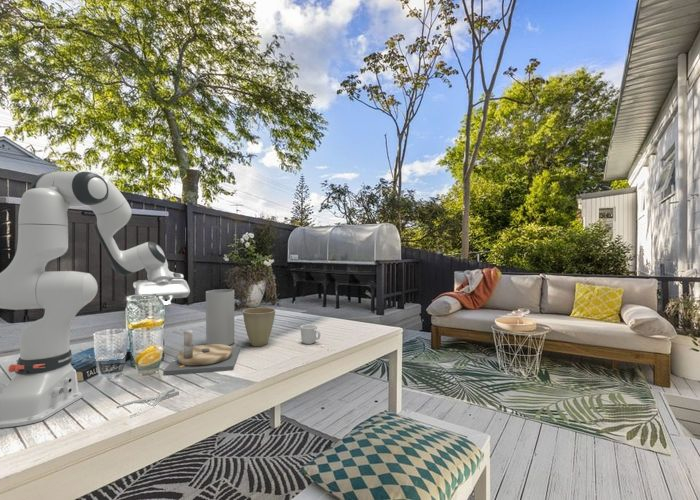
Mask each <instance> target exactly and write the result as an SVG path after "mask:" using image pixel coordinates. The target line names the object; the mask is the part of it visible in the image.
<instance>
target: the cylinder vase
mask: <svg viewBox="0 0 700 500" xmlns="http://www.w3.org/2000/svg"><path fill="white" fill-rule="evenodd" d="M205 341H206V342H205V343H206V344H205V345H207V344H223V345H228V346H231V345H233V344H234V343H235V290H234V289H229V288H228V289H227V288H224V289H221V288H220V289H211V290H206V291H205Z"/></svg>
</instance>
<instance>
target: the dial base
mask: <svg viewBox="0 0 700 500" xmlns="http://www.w3.org/2000/svg"><path fill="white" fill-rule="evenodd" d="M230 347H231V348H232V355H231V356H230V357H229V358H228V359H226V360H223V361H220V362H217V363H212V364H207V365H184V364H181V363H179V362H178V354H177V355H176V356H175V357H174V358H173V360H171V361H170V363H169V364H168V365H167V366H166V367H165V369H164V370H163V371H162V372H163V373H162V374H163V376H170V375H183V374H194V373H195V374H197V373H210V372H219V371H220V372H223V371H233V370H234V369H235V366H236V363H237V361H238V358H239V354H240V352H241V351H240V350H241V346H230ZM183 350H184V349H183ZM183 350H180V352H181V351H183Z"/></svg>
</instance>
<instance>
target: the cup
mask: <svg viewBox="0 0 700 500" xmlns="http://www.w3.org/2000/svg"><path fill="white" fill-rule="evenodd" d="M299 329H300V339H301V342H302V344H305V345H311V344H314V343H315V342H316V341H317V340H320V338H321V331H320V330H319V329H318V326H317V324H312V323H310V324H308V323H307V324H301V325H300V328H299Z"/></svg>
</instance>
